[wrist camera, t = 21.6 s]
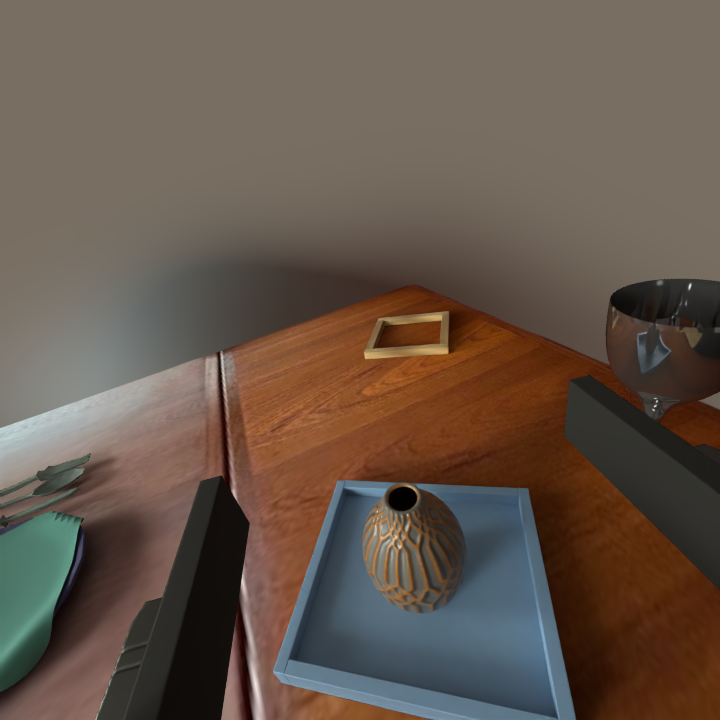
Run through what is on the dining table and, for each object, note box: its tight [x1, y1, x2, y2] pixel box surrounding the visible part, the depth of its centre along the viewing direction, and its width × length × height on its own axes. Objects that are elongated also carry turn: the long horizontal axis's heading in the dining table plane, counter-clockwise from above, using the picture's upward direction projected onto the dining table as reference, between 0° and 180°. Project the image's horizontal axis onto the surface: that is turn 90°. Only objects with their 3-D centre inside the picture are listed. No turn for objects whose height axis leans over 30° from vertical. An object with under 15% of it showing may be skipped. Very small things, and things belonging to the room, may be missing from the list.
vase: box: [362, 482, 467, 613], centre depth 23 cm, size 7×7×9 cm
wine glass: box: [606, 279, 720, 424], centre depth 26 cm, size 8×8×15 cm
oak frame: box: [364, 311, 450, 359], centre depth 59 cm, size 13×13×1 cm
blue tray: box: [273, 480, 576, 720], centre depth 25 cm, size 17×15×2 cm
